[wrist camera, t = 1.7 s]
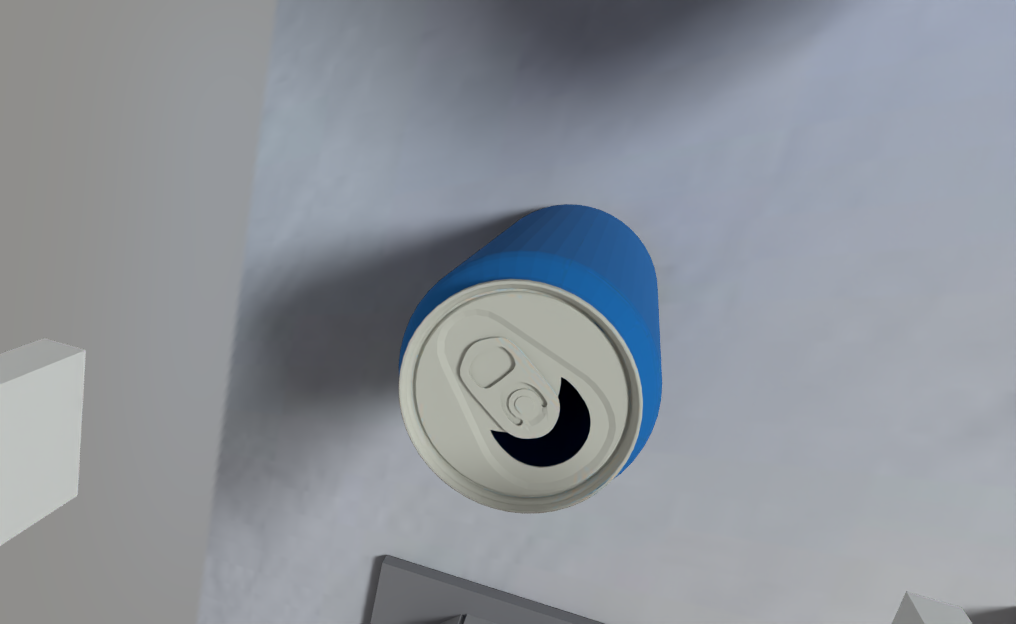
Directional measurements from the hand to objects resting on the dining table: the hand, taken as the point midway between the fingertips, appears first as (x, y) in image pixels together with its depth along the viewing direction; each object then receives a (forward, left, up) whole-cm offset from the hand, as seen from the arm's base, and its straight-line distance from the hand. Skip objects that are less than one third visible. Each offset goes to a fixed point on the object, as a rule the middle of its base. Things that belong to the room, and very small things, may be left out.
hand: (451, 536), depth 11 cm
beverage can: (0, 0, -18) cm, 18 cm away
